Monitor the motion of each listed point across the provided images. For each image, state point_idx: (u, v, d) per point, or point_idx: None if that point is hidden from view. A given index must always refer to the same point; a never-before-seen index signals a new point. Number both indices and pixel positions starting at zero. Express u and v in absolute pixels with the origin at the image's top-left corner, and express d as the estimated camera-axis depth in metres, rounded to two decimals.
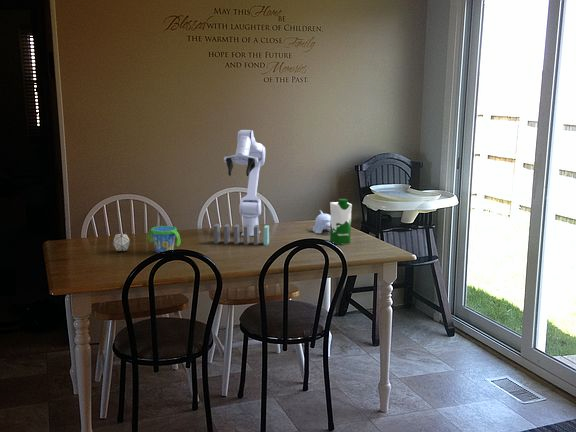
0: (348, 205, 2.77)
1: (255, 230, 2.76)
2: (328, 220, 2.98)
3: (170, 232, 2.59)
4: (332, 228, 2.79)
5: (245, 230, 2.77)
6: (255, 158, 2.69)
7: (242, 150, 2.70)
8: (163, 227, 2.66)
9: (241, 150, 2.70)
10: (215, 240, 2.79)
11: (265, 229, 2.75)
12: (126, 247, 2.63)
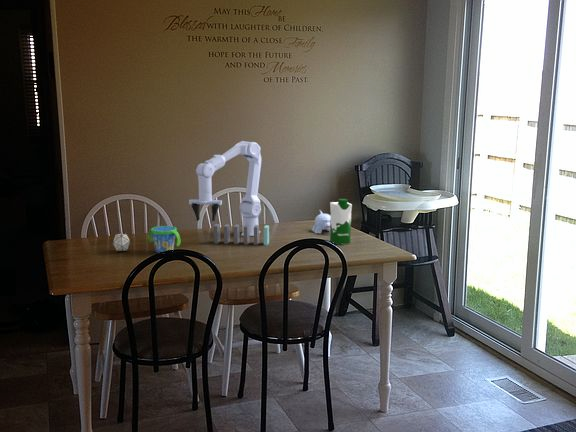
0: (348, 205, 2.77)
1: (255, 230, 2.76)
2: (327, 220, 2.98)
3: (170, 232, 2.59)
4: (332, 228, 2.79)
5: (245, 230, 2.77)
6: (219, 202, 2.77)
7: (205, 196, 2.76)
8: (163, 227, 2.66)
9: (204, 196, 2.76)
10: (215, 240, 2.79)
11: (265, 229, 2.75)
12: (126, 247, 2.63)
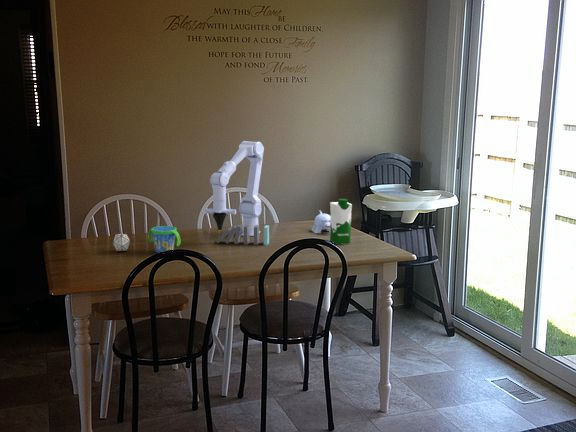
0: (348, 205, 2.77)
1: (255, 230, 2.76)
2: (327, 220, 2.98)
3: (170, 232, 2.59)
4: (332, 228, 2.79)
5: (245, 230, 2.77)
6: (233, 211, 2.77)
7: (219, 205, 2.76)
8: (163, 227, 2.66)
9: (218, 205, 2.76)
10: (218, 240, 2.79)
11: (265, 229, 2.75)
12: (126, 247, 2.63)
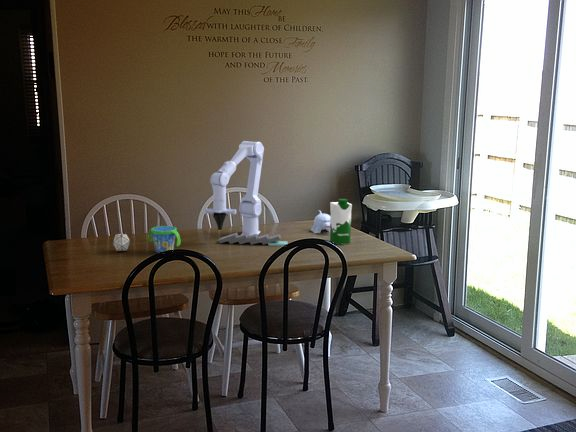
0: (348, 205, 2.77)
1: (276, 238, 2.76)
2: (326, 220, 2.98)
3: (170, 232, 2.59)
4: (332, 228, 2.79)
5: (263, 239, 2.76)
6: (233, 211, 2.77)
7: (219, 205, 2.76)
8: (163, 227, 2.66)
9: (218, 205, 2.76)
10: (221, 240, 2.79)
11: None
12: (126, 247, 2.63)
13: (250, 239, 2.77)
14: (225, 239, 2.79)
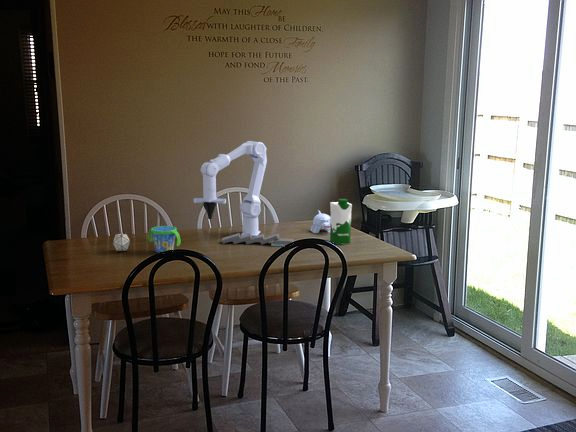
0: (348, 205, 2.77)
1: (288, 242, 2.74)
2: (325, 220, 2.98)
3: (170, 232, 2.59)
4: (332, 228, 2.79)
5: (273, 238, 2.76)
6: (223, 201, 2.81)
7: (209, 195, 2.79)
8: (163, 227, 2.66)
9: (208, 195, 2.79)
10: (225, 240, 2.79)
11: None
12: (126, 247, 2.63)
13: (257, 239, 2.78)
14: (228, 239, 2.79)
